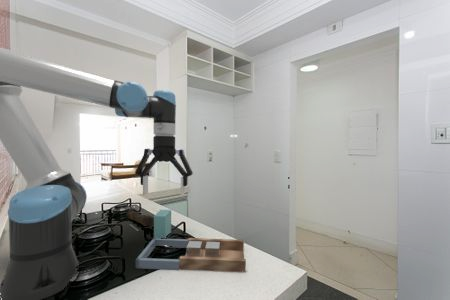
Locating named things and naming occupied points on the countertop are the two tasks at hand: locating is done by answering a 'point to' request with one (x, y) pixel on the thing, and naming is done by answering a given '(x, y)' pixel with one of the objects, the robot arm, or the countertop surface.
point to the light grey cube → (212, 249)
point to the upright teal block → (162, 224)
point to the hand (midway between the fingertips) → (163, 194)
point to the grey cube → (194, 249)
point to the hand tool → (140, 218)
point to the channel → (227, 260)
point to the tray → (160, 263)
